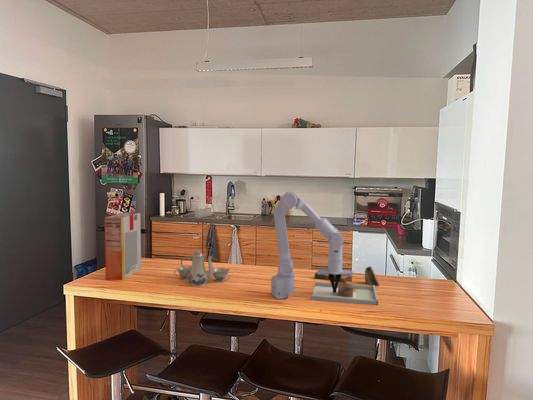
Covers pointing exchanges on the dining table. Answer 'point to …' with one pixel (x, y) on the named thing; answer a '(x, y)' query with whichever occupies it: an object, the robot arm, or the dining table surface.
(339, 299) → the trap tray
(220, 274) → the chinaware
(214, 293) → the dining table surface
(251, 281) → the dining table surface
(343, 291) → the walnut block
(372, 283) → the rock
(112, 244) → the pasta box
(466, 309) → the dining table surface
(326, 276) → the carton
